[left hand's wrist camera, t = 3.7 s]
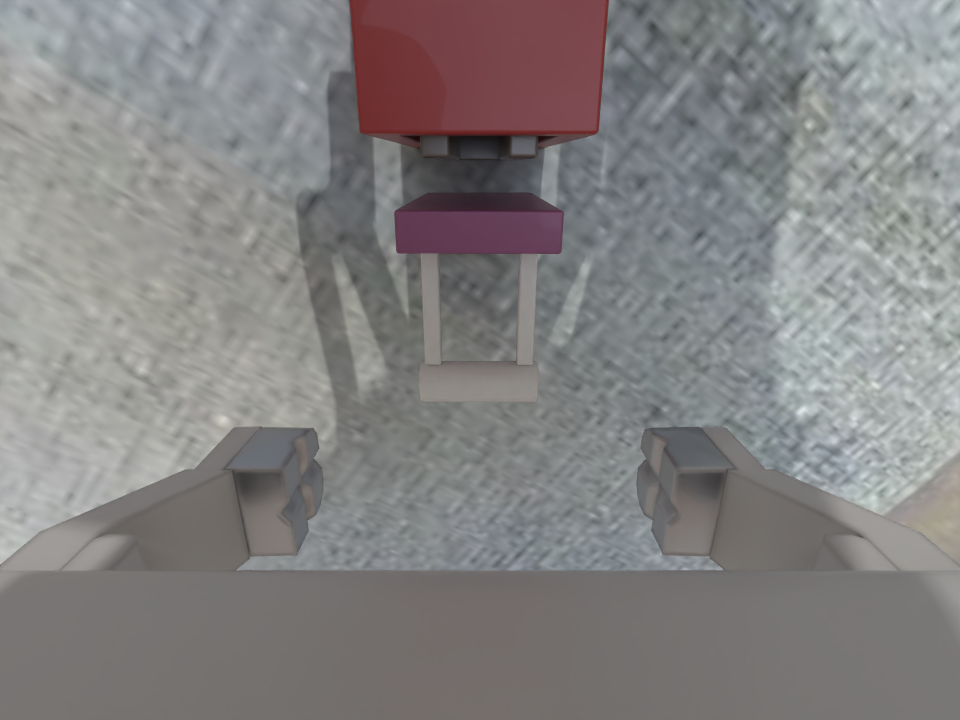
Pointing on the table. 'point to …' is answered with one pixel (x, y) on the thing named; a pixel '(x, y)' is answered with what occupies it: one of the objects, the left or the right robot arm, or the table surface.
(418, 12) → the red yellow-edged box
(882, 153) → the table surface
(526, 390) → the drawer
